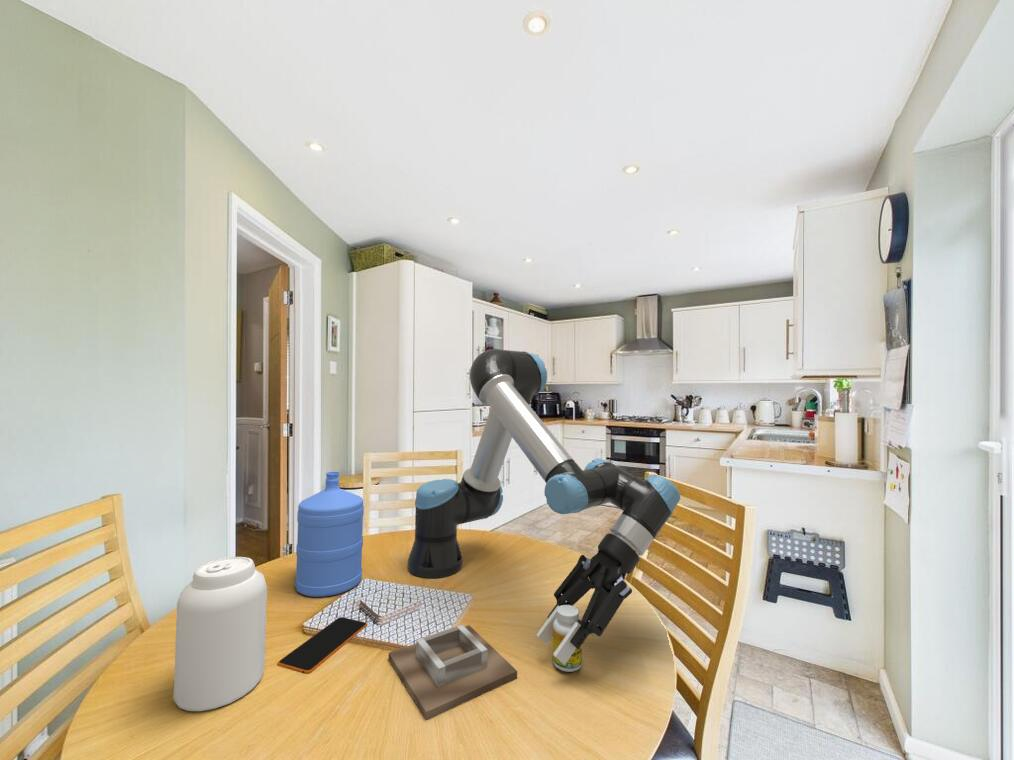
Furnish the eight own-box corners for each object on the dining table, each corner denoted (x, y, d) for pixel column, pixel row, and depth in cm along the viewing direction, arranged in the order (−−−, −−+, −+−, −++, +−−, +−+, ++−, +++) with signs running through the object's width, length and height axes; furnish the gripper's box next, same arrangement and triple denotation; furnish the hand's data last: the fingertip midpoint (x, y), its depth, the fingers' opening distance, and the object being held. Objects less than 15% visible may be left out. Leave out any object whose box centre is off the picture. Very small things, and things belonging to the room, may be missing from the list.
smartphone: (368, 626, 89) (368, 622, 89) (308, 677, 73) (309, 672, 73) (339, 619, 91) (339, 615, 91) (275, 667, 75) (275, 662, 75)
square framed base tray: (388, 659, 77) (389, 636, 77) (468, 630, 87) (469, 610, 87) (426, 720, 63) (426, 691, 63) (517, 677, 73) (517, 653, 73)
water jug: (370, 587, 105) (373, 475, 106) (302, 605, 96) (306, 482, 96) (351, 565, 118) (354, 465, 118) (289, 580, 108) (292, 471, 109)
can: (163, 725, 61) (168, 587, 62) (182, 673, 73) (186, 557, 73) (262, 698, 67) (266, 572, 68) (265, 653, 78) (269, 545, 79)
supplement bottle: (568, 650, 80) (569, 599, 80) (588, 666, 76) (589, 612, 76) (546, 659, 77) (547, 607, 77) (565, 677, 73) (566, 621, 73)
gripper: (670, 575, 75) (592, 695, 68) (605, 540, 91) (537, 633, 84) (647, 550, 73) (565, 670, 66) (585, 518, 89) (514, 612, 82)
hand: (550, 649), depth 75 cm, fingers closed on supplement bottle, 5 cm apart
